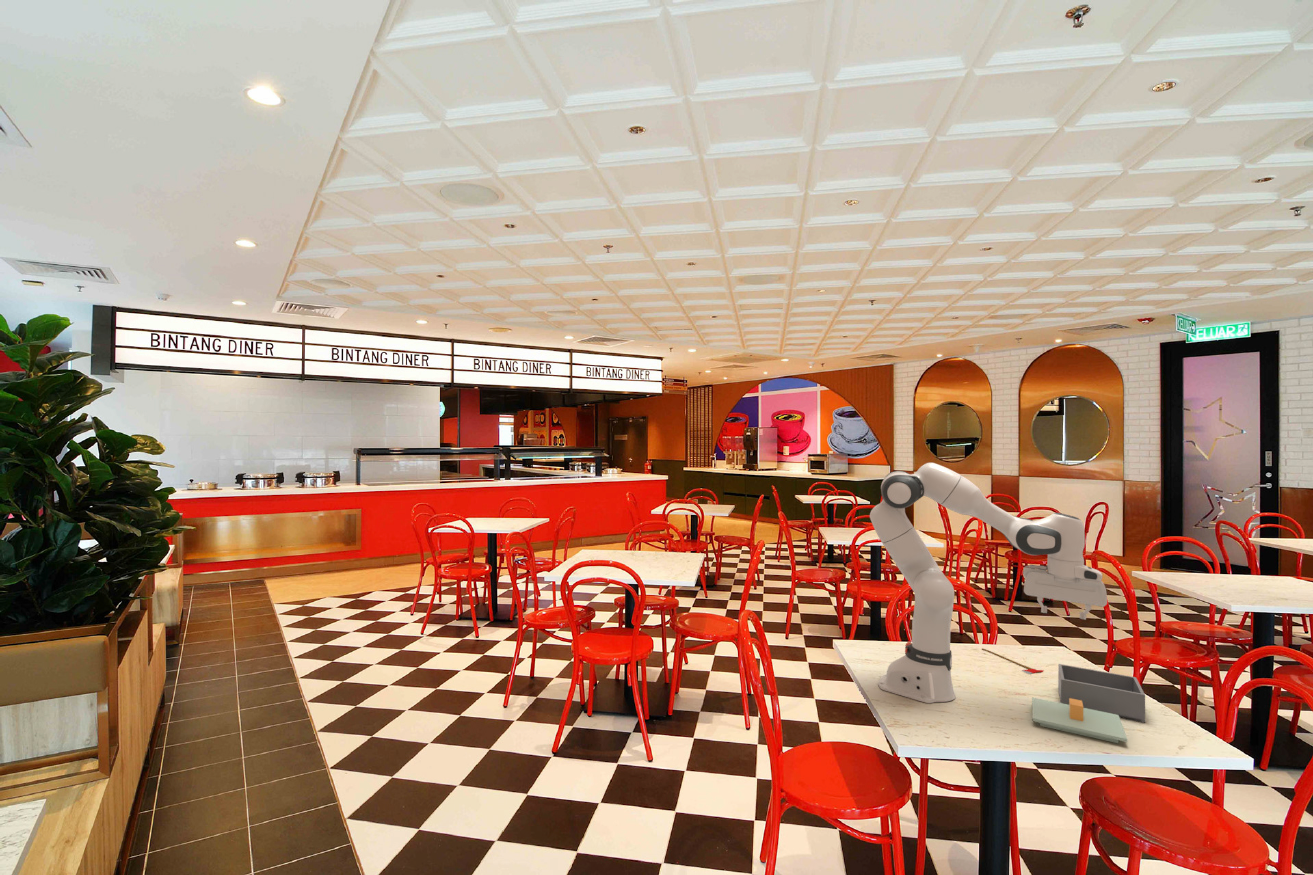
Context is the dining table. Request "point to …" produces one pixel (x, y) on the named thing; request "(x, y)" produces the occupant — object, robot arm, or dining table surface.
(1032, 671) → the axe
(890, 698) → the dining table surface
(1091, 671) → the tub
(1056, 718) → the lid
